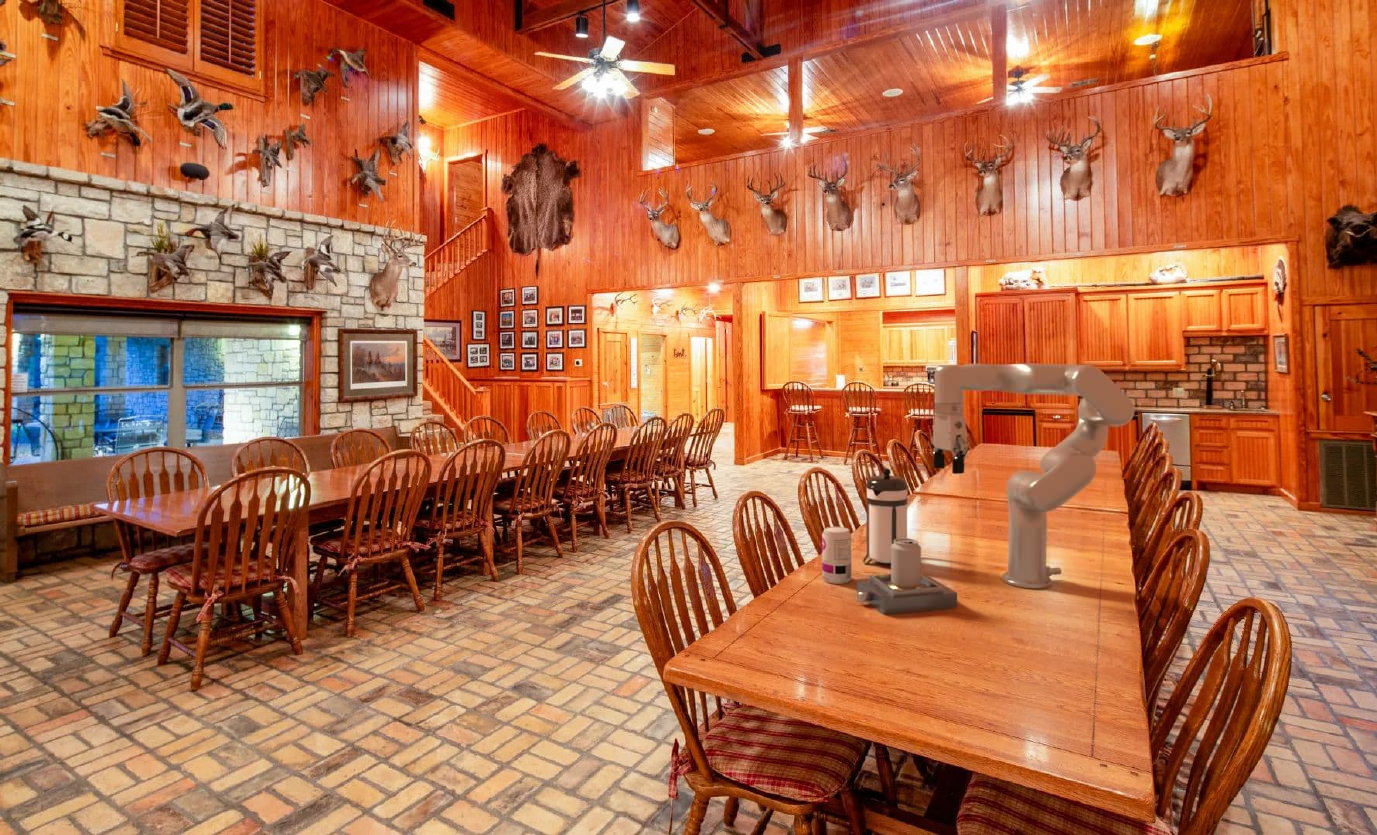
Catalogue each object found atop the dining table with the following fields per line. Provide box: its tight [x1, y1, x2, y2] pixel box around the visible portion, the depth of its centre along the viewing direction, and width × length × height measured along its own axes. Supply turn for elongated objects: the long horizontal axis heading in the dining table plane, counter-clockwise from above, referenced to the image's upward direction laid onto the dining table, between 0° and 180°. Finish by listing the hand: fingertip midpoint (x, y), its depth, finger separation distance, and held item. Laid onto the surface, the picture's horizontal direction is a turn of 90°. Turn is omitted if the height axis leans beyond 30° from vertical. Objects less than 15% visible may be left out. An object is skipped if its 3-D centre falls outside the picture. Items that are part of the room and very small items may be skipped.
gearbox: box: [856, 573, 958, 616], centre depth 178 cm, size 23×16×5 cm
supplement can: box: [821, 526, 852, 585], centre depth 195 cm, size 8×8×15 cm
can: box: [890, 537, 922, 589], centre depth 177 cm, size 8×8×12 cm
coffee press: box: [862, 467, 909, 565], centre depth 211 cm, size 17×16×30 cm
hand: (948, 470), depth 188 cm, fingers open, 9 cm apart
